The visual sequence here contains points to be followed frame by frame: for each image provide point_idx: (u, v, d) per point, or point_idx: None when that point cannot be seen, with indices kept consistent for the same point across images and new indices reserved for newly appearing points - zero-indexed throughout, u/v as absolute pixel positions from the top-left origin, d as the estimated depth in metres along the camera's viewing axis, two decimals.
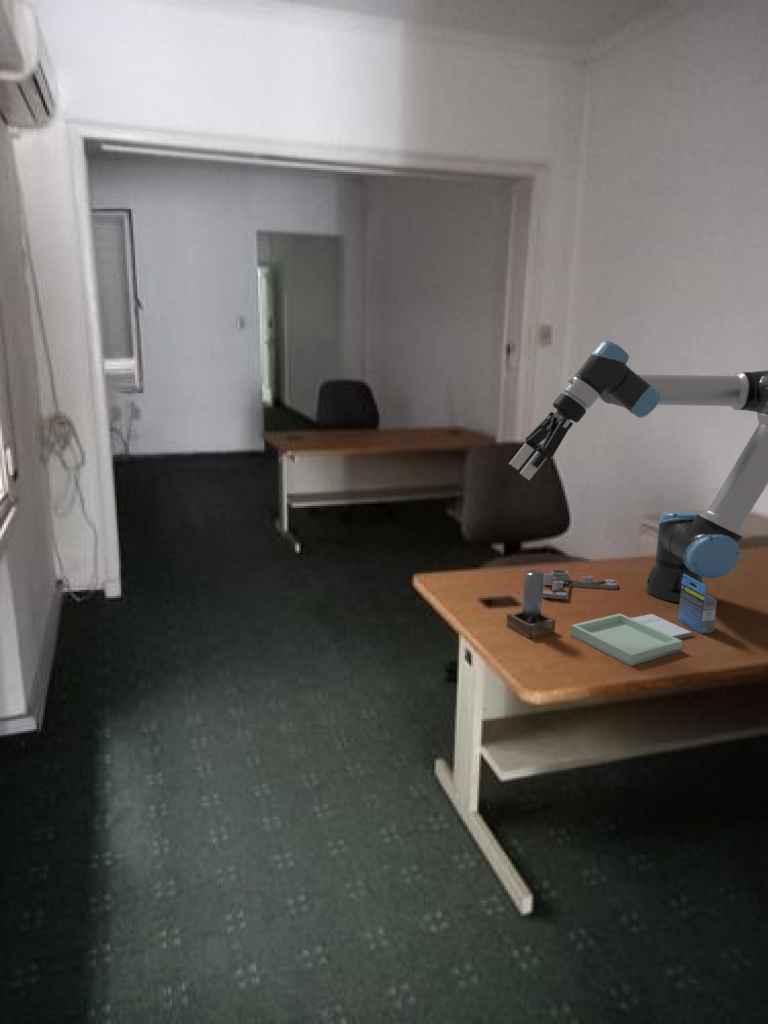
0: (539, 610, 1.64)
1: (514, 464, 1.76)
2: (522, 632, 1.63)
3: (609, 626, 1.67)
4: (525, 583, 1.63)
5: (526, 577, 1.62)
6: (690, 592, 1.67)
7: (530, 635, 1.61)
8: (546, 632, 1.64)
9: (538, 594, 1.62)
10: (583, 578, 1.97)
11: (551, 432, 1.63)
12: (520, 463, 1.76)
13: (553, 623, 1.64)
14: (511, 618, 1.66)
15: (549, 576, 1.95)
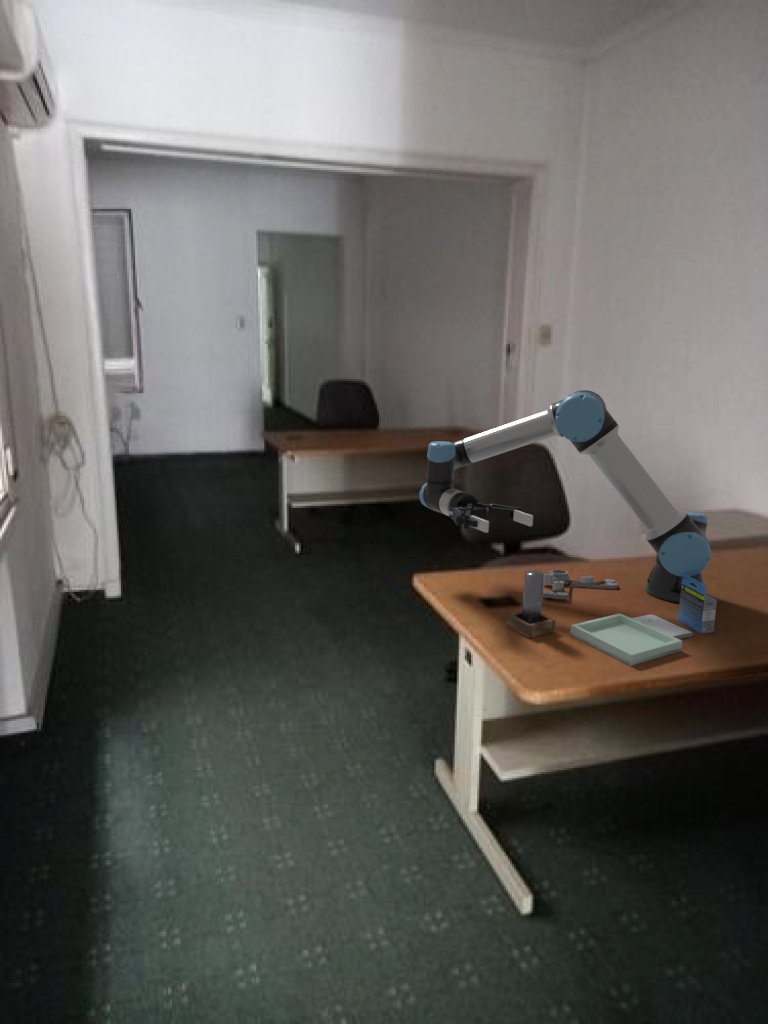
0: (539, 610, 1.64)
1: (528, 521, 1.73)
2: (522, 632, 1.63)
3: (609, 626, 1.67)
4: (525, 583, 1.63)
5: (526, 577, 1.62)
6: (690, 592, 1.67)
7: (530, 635, 1.61)
8: (546, 632, 1.64)
9: (538, 594, 1.62)
10: (583, 578, 1.97)
11: None
12: (526, 516, 1.73)
13: (553, 623, 1.64)
14: (511, 618, 1.66)
15: (550, 576, 1.94)
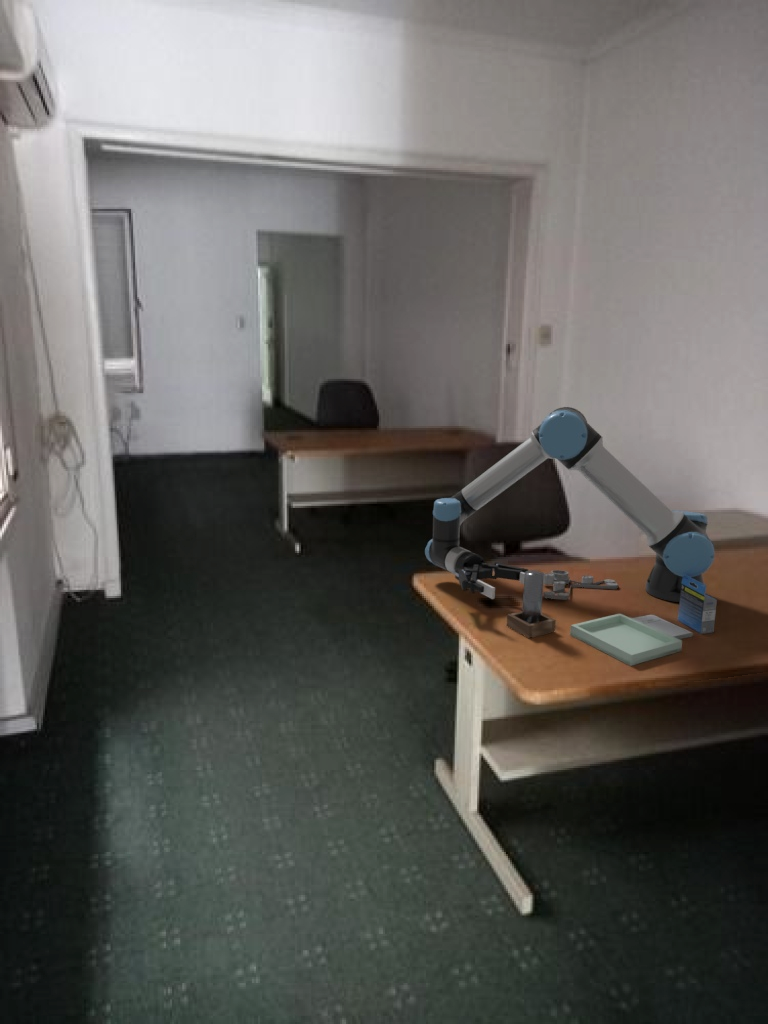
0: (539, 610, 1.64)
1: None
2: (522, 632, 1.63)
3: (609, 626, 1.67)
4: (525, 583, 1.63)
5: (526, 577, 1.62)
6: (690, 592, 1.67)
7: (530, 635, 1.61)
8: (546, 632, 1.64)
9: (538, 594, 1.62)
10: (583, 578, 1.97)
11: None
12: None
13: (553, 623, 1.64)
14: (511, 618, 1.66)
15: (550, 576, 1.94)
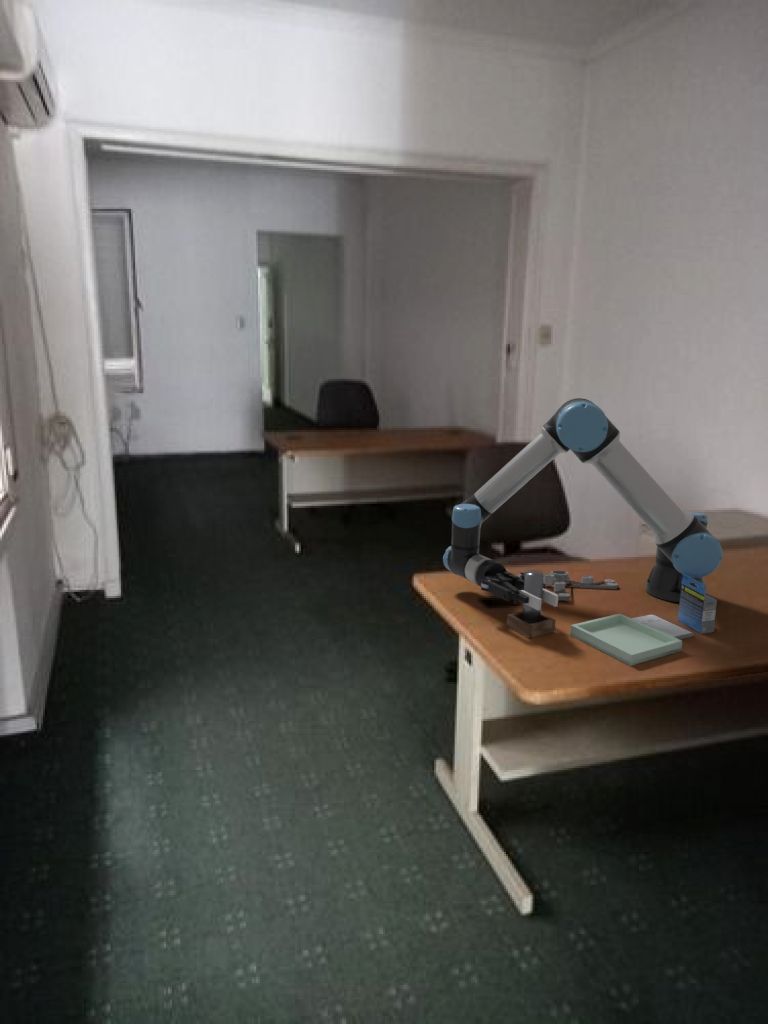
0: (539, 610, 1.64)
1: (553, 601, 1.62)
2: (522, 632, 1.63)
3: (609, 626, 1.67)
4: (525, 583, 1.63)
5: (526, 577, 1.62)
6: (690, 592, 1.67)
7: (530, 635, 1.61)
8: (546, 632, 1.64)
9: (538, 594, 1.62)
10: (583, 579, 1.97)
11: None
12: (550, 595, 1.62)
13: (553, 623, 1.64)
14: (511, 618, 1.66)
15: (551, 577, 1.94)
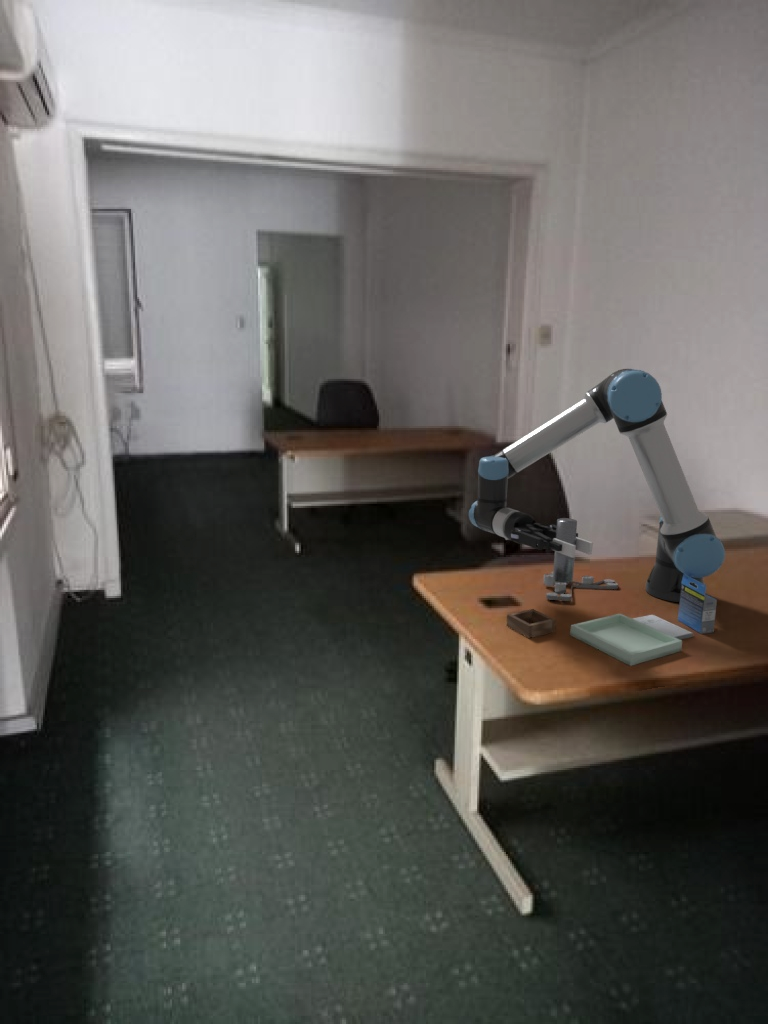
0: (572, 559, 1.58)
1: (587, 548, 1.56)
2: (522, 632, 1.63)
3: (609, 626, 1.67)
4: (557, 531, 1.57)
5: (559, 524, 1.57)
6: (690, 592, 1.67)
7: (530, 635, 1.61)
8: (546, 632, 1.64)
9: (571, 541, 1.56)
10: (584, 579, 1.97)
11: None
12: (584, 543, 1.56)
13: (553, 623, 1.64)
14: (511, 618, 1.66)
15: (551, 577, 1.93)
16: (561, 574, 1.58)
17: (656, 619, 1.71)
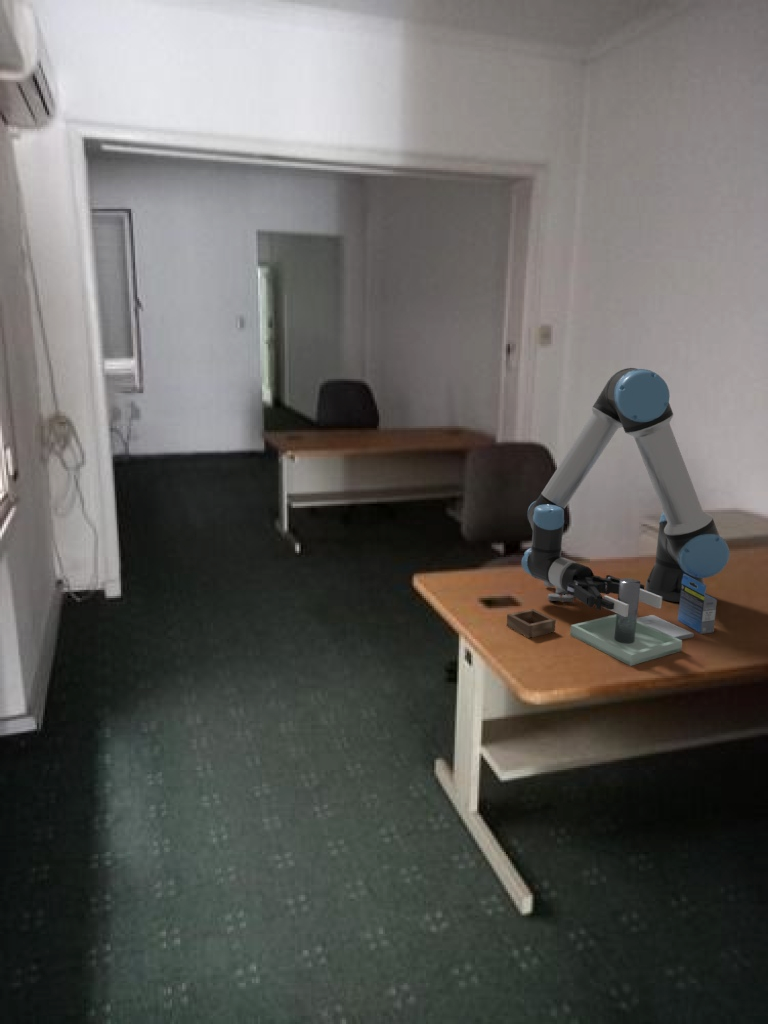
0: (635, 620, 1.56)
1: (656, 603, 1.56)
2: (522, 632, 1.63)
3: (609, 626, 1.67)
4: (620, 592, 1.56)
5: (622, 586, 1.55)
6: (690, 592, 1.67)
7: (530, 635, 1.61)
8: (546, 632, 1.64)
9: (634, 603, 1.55)
10: None
11: None
12: (653, 597, 1.57)
13: (553, 623, 1.64)
14: (511, 618, 1.66)
15: None
16: (624, 635, 1.57)
17: (656, 619, 1.71)
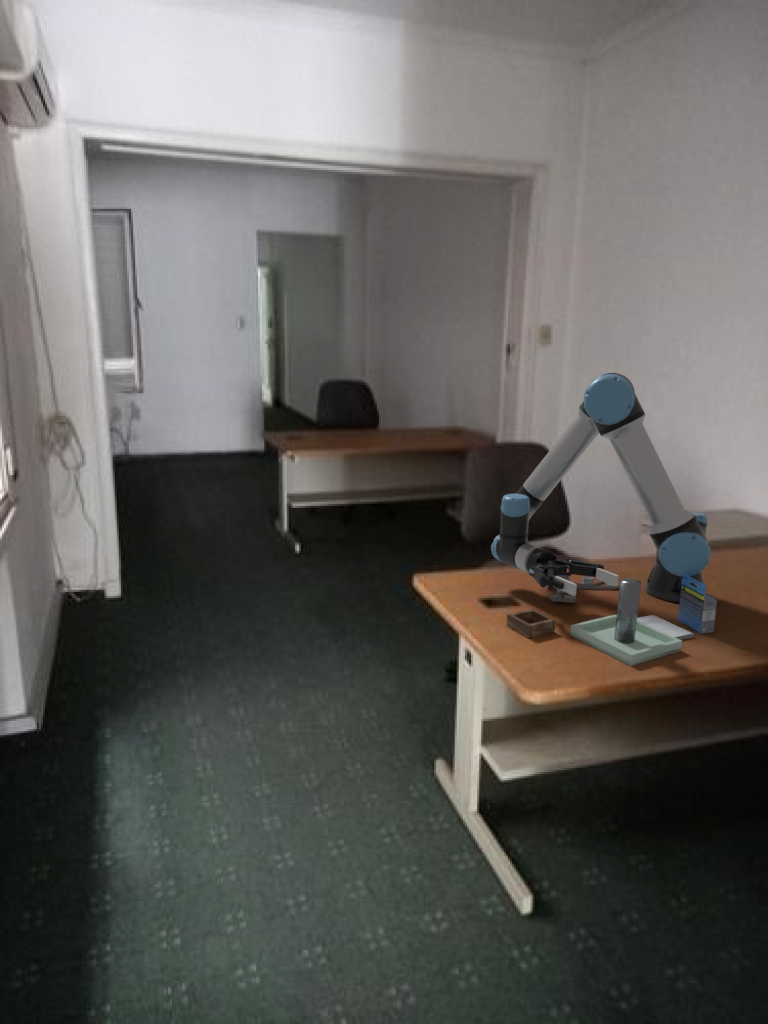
0: (635, 620, 1.56)
1: (613, 581, 1.69)
2: (522, 632, 1.63)
3: (609, 626, 1.67)
4: (621, 592, 1.56)
5: (622, 585, 1.55)
6: (690, 592, 1.67)
7: (530, 635, 1.61)
8: (546, 632, 1.64)
9: (635, 603, 1.55)
10: (584, 579, 1.96)
11: (547, 577, 1.73)
12: (610, 576, 1.70)
13: (553, 623, 1.64)
14: (511, 618, 1.66)
15: None
16: (624, 635, 1.57)
17: (657, 619, 1.71)
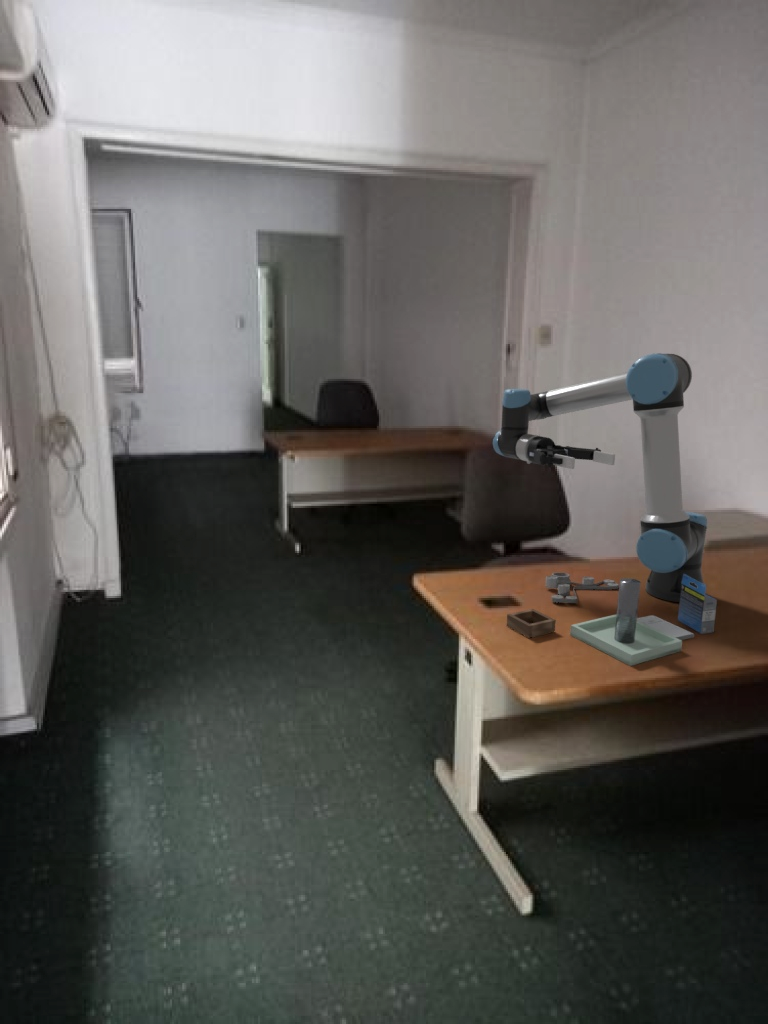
0: (635, 620, 1.56)
1: (610, 460, 1.76)
2: (522, 632, 1.63)
3: (609, 626, 1.67)
4: (620, 592, 1.56)
5: (622, 585, 1.55)
6: (690, 592, 1.67)
7: (530, 635, 1.61)
8: (546, 632, 1.64)
9: (634, 603, 1.55)
10: (584, 580, 1.96)
11: None
12: (607, 455, 1.77)
13: (553, 623, 1.64)
14: (511, 618, 1.66)
15: (554, 579, 1.91)
16: (624, 635, 1.57)
17: (657, 620, 1.71)
